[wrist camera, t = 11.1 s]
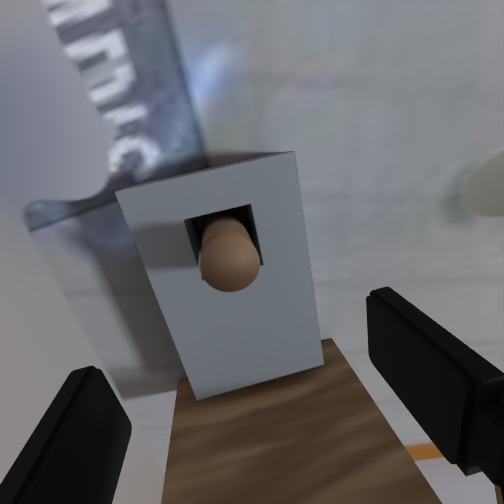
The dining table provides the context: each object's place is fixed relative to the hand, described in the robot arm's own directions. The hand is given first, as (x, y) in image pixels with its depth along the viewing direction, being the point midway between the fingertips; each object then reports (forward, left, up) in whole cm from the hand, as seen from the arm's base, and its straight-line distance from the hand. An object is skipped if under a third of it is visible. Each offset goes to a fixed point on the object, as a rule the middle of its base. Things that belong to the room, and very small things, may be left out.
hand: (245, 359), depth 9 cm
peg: (0, 0, -19) cm, 19 cm away
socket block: (+5, 0, -19) cm, 20 cm away
